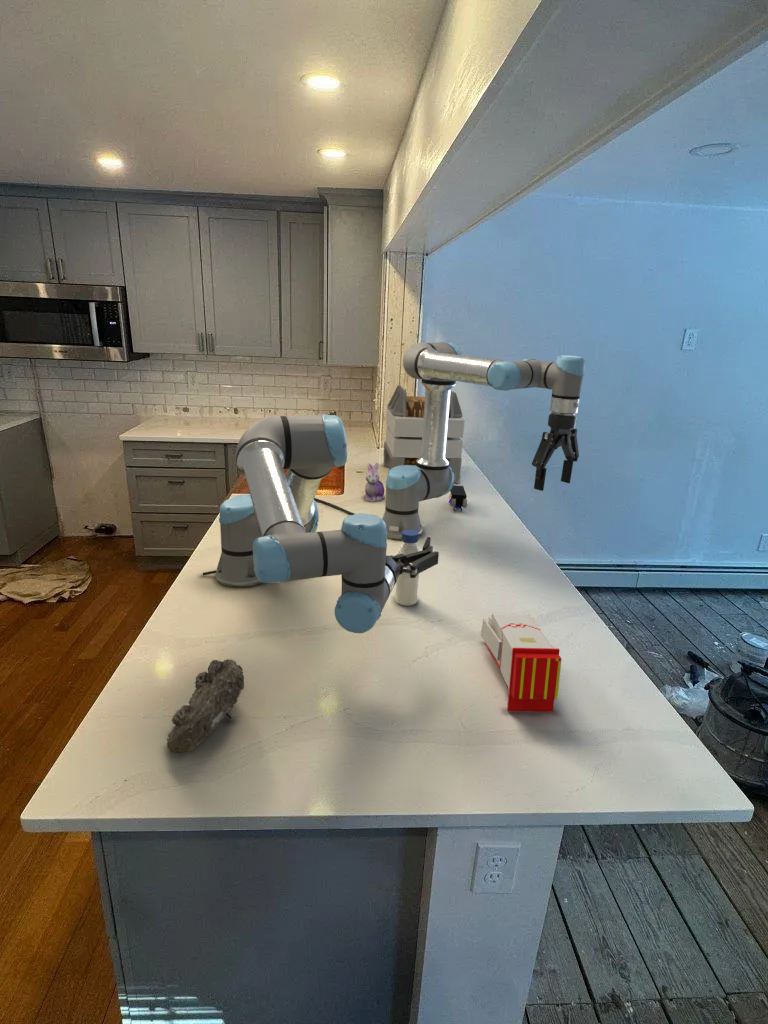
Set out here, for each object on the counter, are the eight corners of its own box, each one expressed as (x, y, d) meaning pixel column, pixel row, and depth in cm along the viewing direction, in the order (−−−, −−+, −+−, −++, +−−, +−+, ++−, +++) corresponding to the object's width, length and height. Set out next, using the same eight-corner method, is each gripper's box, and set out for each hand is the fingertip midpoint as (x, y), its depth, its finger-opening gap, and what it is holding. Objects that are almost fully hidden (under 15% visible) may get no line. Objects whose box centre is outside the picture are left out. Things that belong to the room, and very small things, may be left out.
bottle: (421, 600, 155) (426, 533, 148) (408, 607, 151) (412, 540, 144) (404, 593, 159) (407, 527, 152) (390, 600, 154) (394, 533, 148)
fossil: (192, 660, 117) (244, 628, 112) (224, 691, 120) (276, 661, 115) (142, 746, 98) (202, 712, 93) (182, 779, 101) (242, 748, 96)
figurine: (369, 503, 229) (370, 467, 224) (358, 496, 237) (359, 461, 232) (389, 500, 233) (391, 465, 228) (378, 493, 242) (380, 459, 236)
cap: (421, 540, 149) (422, 532, 148) (411, 545, 146) (412, 536, 145) (408, 535, 152) (408, 528, 151) (398, 540, 148) (398, 532, 148)
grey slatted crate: (382, 463, 289) (386, 382, 275) (445, 464, 293) (451, 384, 279) (390, 482, 257) (394, 392, 243) (460, 483, 261) (468, 394, 247)
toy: (527, 598, 138) (570, 654, 108) (522, 650, 141) (563, 718, 111) (477, 597, 137) (507, 653, 108) (474, 649, 140) (502, 717, 111)
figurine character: (467, 516, 223) (461, 500, 237) (469, 499, 220) (463, 483, 233) (450, 516, 223) (446, 499, 236) (452, 498, 220) (447, 483, 233)
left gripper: (314, 587, 113) (345, 547, 132) (439, 605, 107) (452, 561, 127) (314, 552, 110) (346, 517, 130) (442, 569, 105) (455, 530, 124)
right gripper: (548, 419, 148) (537, 496, 155) (598, 411, 163) (586, 482, 171) (525, 414, 153) (515, 489, 160) (575, 407, 169) (564, 476, 176)
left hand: (399, 538), depth 128 cm, fingers open, 13 cm apart
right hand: (552, 485), depth 166 cm, fingers open, 13 cm apart
